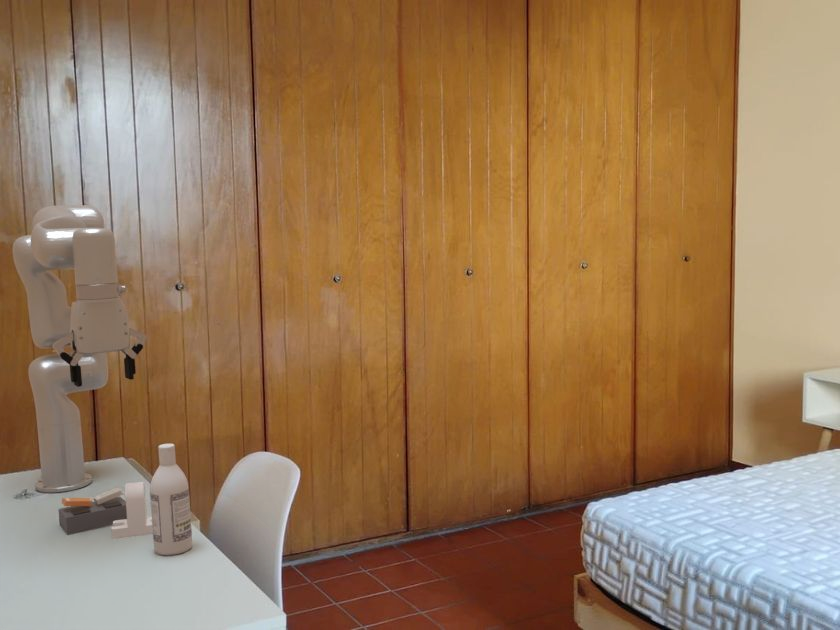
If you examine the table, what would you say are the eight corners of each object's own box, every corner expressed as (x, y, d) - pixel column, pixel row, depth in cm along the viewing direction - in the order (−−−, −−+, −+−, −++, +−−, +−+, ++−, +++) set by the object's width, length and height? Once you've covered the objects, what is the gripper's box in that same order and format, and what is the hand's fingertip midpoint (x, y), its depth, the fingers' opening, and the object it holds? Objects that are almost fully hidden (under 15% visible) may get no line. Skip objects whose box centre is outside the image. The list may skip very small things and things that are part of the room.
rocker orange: (61, 502, 172) (62, 497, 172) (88, 502, 175) (88, 497, 175) (64, 506, 170) (65, 501, 170) (91, 506, 173) (92, 500, 173)
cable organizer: (114, 530, 170) (110, 482, 169) (165, 523, 172) (162, 476, 171) (112, 539, 165) (108, 489, 163) (164, 532, 167) (161, 483, 166)
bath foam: (196, 541, 161) (190, 439, 159) (186, 555, 155) (179, 449, 152) (161, 542, 162) (153, 441, 159) (149, 557, 155) (141, 450, 153)
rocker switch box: (57, 522, 175) (55, 504, 175) (117, 509, 182) (116, 492, 182) (67, 534, 168) (65, 516, 167) (130, 520, 175) (129, 503, 174)
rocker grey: (94, 501, 176) (93, 496, 176) (119, 491, 179) (117, 486, 178) (98, 504, 174) (96, 499, 173) (122, 494, 176) (121, 489, 176)
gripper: (136, 289, 168) (142, 373, 170) (44, 296, 158) (51, 385, 159) (149, 290, 162) (155, 378, 164) (54, 297, 152) (61, 391, 153)
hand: (104, 382), depth 162 cm, fingers open, 9 cm apart
